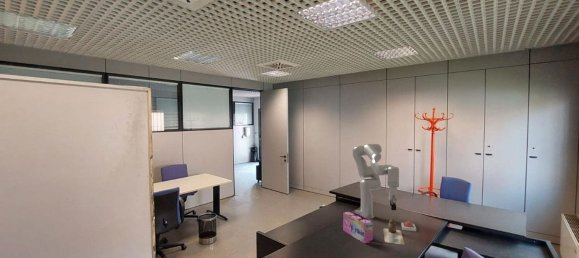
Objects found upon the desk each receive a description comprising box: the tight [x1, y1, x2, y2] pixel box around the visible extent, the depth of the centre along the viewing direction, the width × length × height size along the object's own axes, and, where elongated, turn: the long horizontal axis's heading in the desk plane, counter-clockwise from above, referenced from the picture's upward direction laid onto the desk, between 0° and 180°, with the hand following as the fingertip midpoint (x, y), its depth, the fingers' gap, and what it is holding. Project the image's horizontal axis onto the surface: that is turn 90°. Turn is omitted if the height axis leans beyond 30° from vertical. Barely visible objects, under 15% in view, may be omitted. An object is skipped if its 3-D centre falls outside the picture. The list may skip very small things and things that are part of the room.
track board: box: [382, 228, 405, 245], centre depth 176 cm, size 12×22×1 cm, turn 163°
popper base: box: [400, 221, 417, 232], centre depth 188 cm, size 9×9×3 cm
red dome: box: [404, 220, 413, 228], centre depth 188 cm, size 5×5×6 cm
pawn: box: [388, 218, 397, 233], centre depth 182 cm, size 5×5×9 cm
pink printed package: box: [342, 210, 374, 244], centre depth 179 cm, size 24×8×14 cm, turn 27°
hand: (393, 207), depth 181 cm, fingers open, 9 cm apart
